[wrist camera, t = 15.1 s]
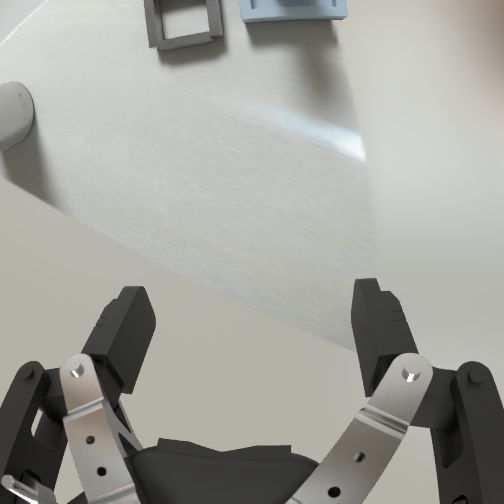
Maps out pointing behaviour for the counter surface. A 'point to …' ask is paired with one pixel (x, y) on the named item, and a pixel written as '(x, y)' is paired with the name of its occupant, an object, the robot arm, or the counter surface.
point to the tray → (292, 10)
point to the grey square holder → (158, 41)
